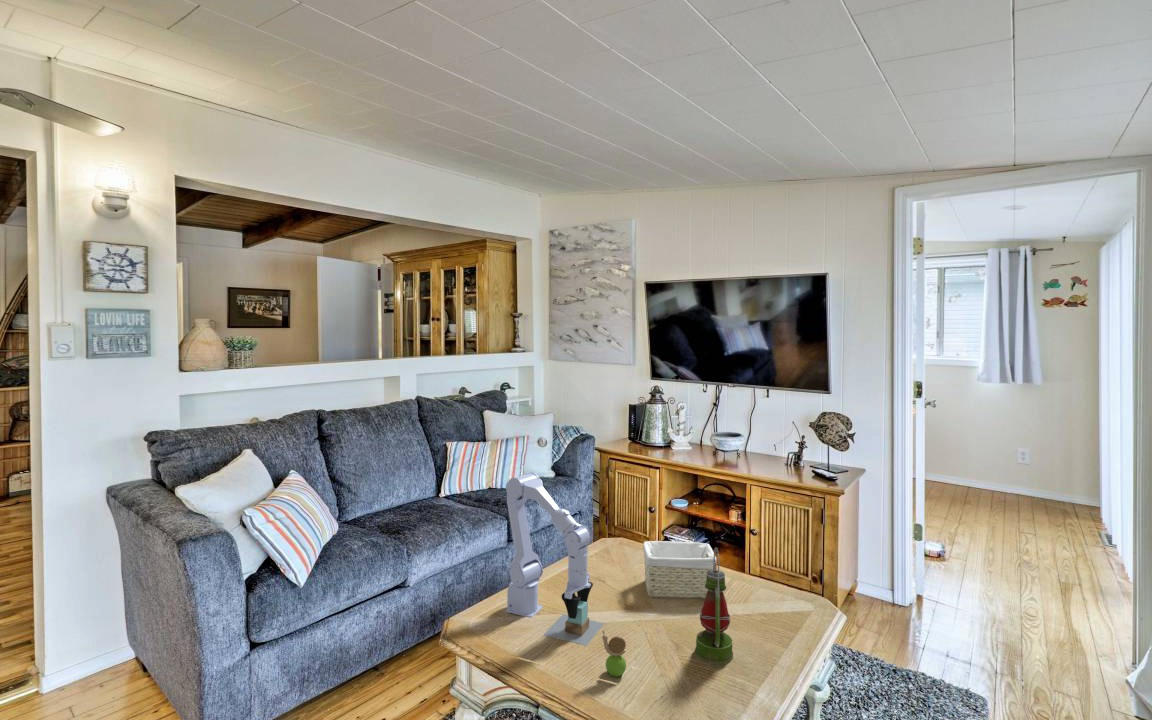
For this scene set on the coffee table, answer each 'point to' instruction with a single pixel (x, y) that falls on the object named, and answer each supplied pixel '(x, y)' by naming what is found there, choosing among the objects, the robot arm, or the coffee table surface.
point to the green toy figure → (615, 655)
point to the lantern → (714, 621)
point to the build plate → (559, 632)
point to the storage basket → (677, 568)
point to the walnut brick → (576, 627)
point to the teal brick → (580, 613)
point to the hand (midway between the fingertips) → (577, 612)
